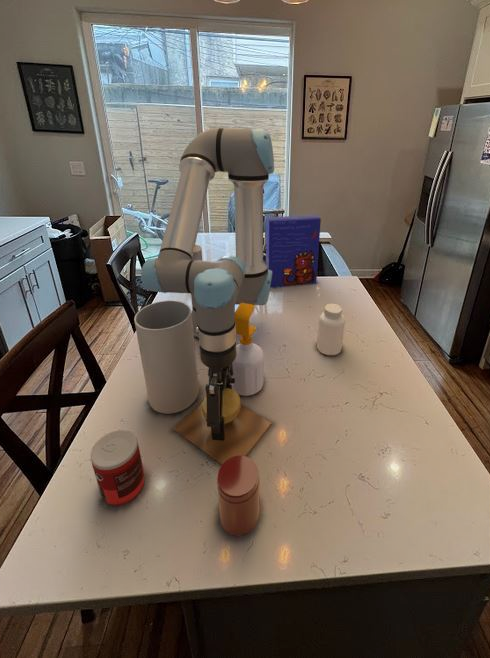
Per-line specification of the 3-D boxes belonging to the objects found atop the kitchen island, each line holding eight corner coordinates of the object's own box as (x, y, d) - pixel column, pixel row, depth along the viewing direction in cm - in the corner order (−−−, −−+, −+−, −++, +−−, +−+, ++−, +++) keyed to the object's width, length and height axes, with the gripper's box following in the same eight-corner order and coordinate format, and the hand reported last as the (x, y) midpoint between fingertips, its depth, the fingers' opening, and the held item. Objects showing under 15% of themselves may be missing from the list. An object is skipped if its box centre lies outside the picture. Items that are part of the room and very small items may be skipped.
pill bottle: (341, 358, 101) (346, 316, 95) (315, 354, 102) (318, 313, 97) (342, 342, 108) (346, 302, 102) (317, 338, 110) (321, 299, 104)
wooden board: (173, 429, 77) (173, 428, 76) (215, 392, 87) (215, 390, 87) (232, 472, 68) (232, 471, 67) (271, 424, 78) (271, 422, 78)
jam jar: (211, 519, 60) (207, 480, 56) (237, 485, 65) (235, 447, 61) (242, 545, 56) (240, 506, 52) (266, 507, 62) (267, 469, 58)
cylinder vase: (147, 385, 89) (133, 306, 79) (194, 373, 94) (186, 296, 84) (150, 422, 78) (134, 335, 69) (203, 406, 83) (195, 322, 73)
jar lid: (248, 404, 76) (248, 398, 76) (222, 431, 70) (222, 424, 69) (220, 388, 81) (220, 382, 80) (194, 412, 74) (193, 405, 73)
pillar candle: (186, 270, 156) (184, 241, 150) (206, 272, 155) (204, 242, 149) (178, 279, 147) (174, 248, 141) (199, 281, 146) (196, 250, 140)
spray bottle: (268, 376, 93) (269, 301, 83) (255, 400, 85) (254, 320, 75) (239, 368, 96) (237, 295, 86) (224, 391, 88) (220, 312, 78)
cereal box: (311, 277, 152) (316, 214, 141) (316, 283, 147) (320, 218, 135) (265, 281, 147) (266, 216, 136) (268, 287, 142) (269, 220, 130)
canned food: (110, 468, 68) (100, 430, 64) (150, 465, 69) (142, 428, 64) (94, 508, 61) (81, 469, 57) (138, 505, 62) (129, 466, 57)
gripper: (212, 313, 78) (217, 386, 87) (183, 378, 58) (193, 464, 67) (243, 314, 78) (245, 388, 86) (224, 381, 58) (229, 466, 67)
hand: (223, 421), depth 77 cm, fingers closed on jar lid, 8 cm apart
